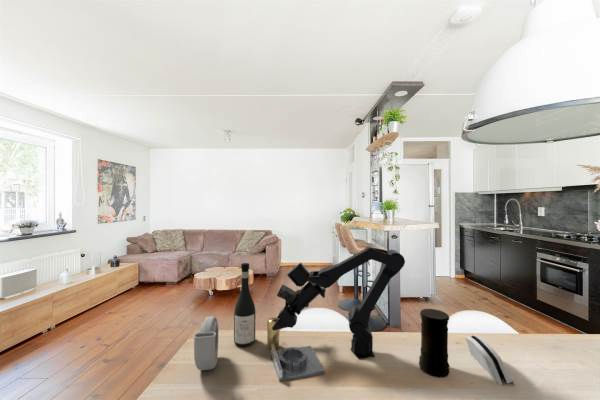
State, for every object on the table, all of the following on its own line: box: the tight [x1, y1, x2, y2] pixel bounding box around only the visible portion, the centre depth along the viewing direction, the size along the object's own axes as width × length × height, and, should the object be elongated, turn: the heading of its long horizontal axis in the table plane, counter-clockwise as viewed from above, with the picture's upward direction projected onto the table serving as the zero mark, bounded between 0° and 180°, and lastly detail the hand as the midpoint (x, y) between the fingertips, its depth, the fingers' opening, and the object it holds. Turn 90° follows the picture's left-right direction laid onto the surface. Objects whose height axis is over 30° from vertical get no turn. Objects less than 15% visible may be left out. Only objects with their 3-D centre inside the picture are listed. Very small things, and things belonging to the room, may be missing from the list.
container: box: [418, 308, 450, 379], centre depth 88 cm, size 9×9×18 cm
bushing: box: [266, 316, 280, 351], centre depth 101 cm, size 4×4×10 cm
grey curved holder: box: [192, 315, 219, 371], centre depth 89 cm, size 17×6×15 cm, turn 9°
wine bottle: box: [233, 262, 256, 348], centre depth 104 cm, size 8×8×30 cm
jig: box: [270, 344, 326, 382], centre depth 91 cm, size 14×15×3 cm
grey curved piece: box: [465, 334, 517, 387], centre depth 89 cm, size 17×5×10 cm, turn 173°
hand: (275, 323), depth 101 cm, fingers open, 9 cm apart
